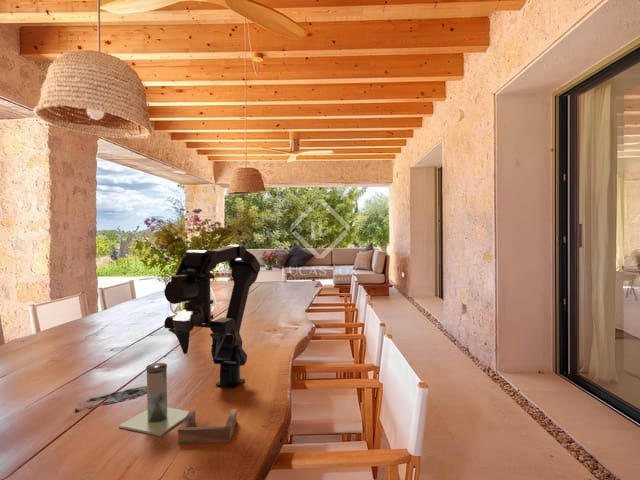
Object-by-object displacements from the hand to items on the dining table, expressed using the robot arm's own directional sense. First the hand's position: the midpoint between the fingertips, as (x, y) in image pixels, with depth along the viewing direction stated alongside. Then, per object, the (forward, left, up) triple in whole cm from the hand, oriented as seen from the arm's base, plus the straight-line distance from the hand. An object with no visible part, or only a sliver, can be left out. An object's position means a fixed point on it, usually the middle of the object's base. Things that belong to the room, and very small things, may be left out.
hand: (200, 355), depth 114 cm
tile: (+12, -4, -13) cm, 18 cm away
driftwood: (+5, -24, -14) cm, 28 cm away
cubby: (+12, +11, -13) cm, 21 cm away
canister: (+12, -4, -12) cm, 18 cm away
